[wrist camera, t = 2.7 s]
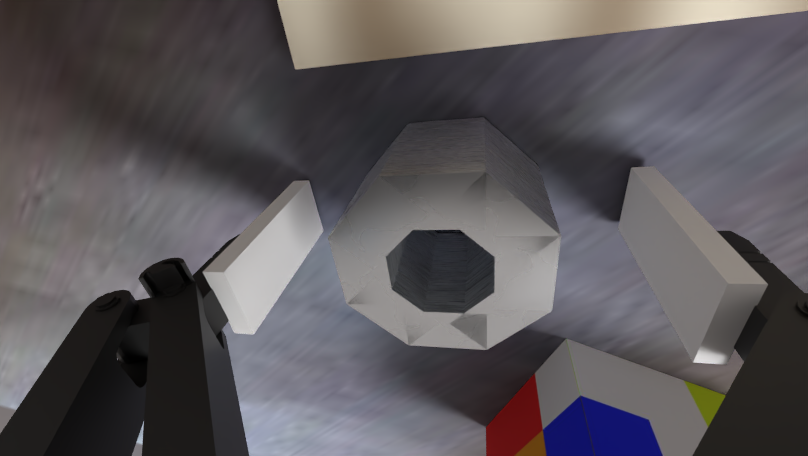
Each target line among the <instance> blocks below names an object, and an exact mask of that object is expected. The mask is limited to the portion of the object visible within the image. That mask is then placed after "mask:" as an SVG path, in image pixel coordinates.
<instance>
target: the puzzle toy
mask: <svg viewBox="0 0 808 456" xmlns="http://www.w3.org/2000/svg"><path fill="white" fill-rule="evenodd" d="M725 396H726V395H723V394H720V393H717V392H715V391H712V390H709V389H706V388H704V387H701V386H698V385H695V384H692V383H690V382H687V381H684V380H681V379H678V378H676V377H673V376H670V375H667V374H664V373H662V372H659V371H656V370H653V369H650V368H648V367H645V366H642V365H639V364H636V363H634V362H631V361H628V360H625V359H622V358H620V357H617V356H614V355H611V354H608V353H606V352H603V351H600V350H597V349H594V348H592V347H589V346H586V345H583V344H580V343H578V342H575V341H572V340H569V339H565V340H564V341H563V343H562V344H561V345H560V346H559V347H558V348H557V349H556V350H555V351H554V352H553V354H552V355H551V356H550V357H549V358H548V359H547V360H546V361H545V362H544V364H543V365H542V366H541V367H540V368H539V369H538V370H537V371H536V372H535V374H534V375H533V376H532V377H531V378H530V379H529V380H528V381H527V382H526V383H525V385H524V386H523V387H522V388H521V389H520V390H519V391H518V392H517V393H516V395H515V396H514V397H513V398H512V399H511V400H510V401H509V402H508V403H507V405H506V406H505V407H504V408H503V409H502V410H501V411H500V412H499V413H498V414H497V416H496V417H495V418H494V419H493V420H492V421H491V422H490V423H489V424H488V426H487V427H486V456H692V455H693V453H694V452H695V450H696V448H697V446H698V444H699V443H700V441H701V439H702V437H703V435H704V434H705V432H706V430H707V428H708V427H709V425H710V423H711V421H712V419H713V418H714V416H715V414H716V412H717V410H718V409H719V407H720V405H721V403H722V401H723V400H724V398H725Z"/></svg>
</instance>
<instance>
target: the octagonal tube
mask: <svg viewBox="0 0 808 456" xmlns="http://www.w3.org/2000/svg"><path fill="white" fill-rule="evenodd" d="M434 230H461V231H462V232H463V233H437V232H435V231H434ZM328 240H329V243H330V247H331V250H332V254H333V257H334V261H335V264H336V268H337V272H338V275H339V279H340V282H341V286H342V289H343V293H344V296H345V300H346V303H347V305H349V306H350V307H352V308H353V309H355V310H356V311H358V312H359V313H361V314H362V315H364V316H365V317H367V318H368V319H370V320H371V321H373V322H374V323H376V324H377V325H379V326H380V327H382V328H383V329H385V330H386V331H388V332H389V333H391V334H392V335H394V336H395V337H397V338H398V339H400V340H401V341H403V342H404V343H406V344H407V345H411V346H428V347H445V348H462V349H480V350H488V349H489V348H491V347H493V346H494V345H496V344H498V343H499V342H501V341H503V340H504V339H506V338H508V337H509V336H511V335H513V334H514V333H516V332H518V331H520V330H521V329H523V328H525V327H526V326H528V325H530V324H531V323H533V322H535V321H536V320H538V319H540V318H541V317H543V316H545V315H546V314H548V313H550V312H551V311H552V307H553V299H554V291H555V283H556V274H557V266H558V258H559V249H560V241H561V234H560V231H559V228H558V225H557V222H556V219H555V216H554V213H553V210H552V207H551V204H550V200H549V197H548V194H547V191H546V188H545V185H544V182H543V179H542V176H541V173H540V170H539V167H538V165H537V164H536V163H535V162H534V161H533V160H531V159H530V158H529V157H528V156H527V155H526V154H525V153H524V152H522V151H521V150H520V149H519V148H518V147H517V146H516V145H515V144H514V143H512V142H511V141H510V140H509V139H508V138H507V137H506V136H505V135H503V134H502V133H501V132H500V131H499V130H498V129H497V128H496V127H495V126H493V125H492V124H491V123H490V122H489V121H488V120H487V119H486V118H484V117H479V118H466V119H453V120H439V121H426V122H413V123H408V124H407V125H406V127H405V128H404V129H403V130H402V132H401V133H400V134H399V135H398V137H397V138H396V139H395V140H394V141H393V143H392V144H391V145H390V146H389V148H388V149H387V150H386V151H385V153H384V154H383V155H382V156H381V158H380V159H379V160H378V161H377V163H376V164H375V165H374V166H373V168H372V169H371V170H370V171H369V173H368V174H367V175H366V177H365V179H364V180H363V182H362V184H361V185H360V187H359V188H358V190H357V192H356V193H355V195H354V196H353V198H352V200H351V201H350V203H349V204H348V206H347V208H346V209H345V211H344V213H343V214H342V216H341V217H340V219H339V221H338V222H337V224H336V225H335V227H334V229H333V230H332V232H331V233H330V235H329V237H328Z"/></svg>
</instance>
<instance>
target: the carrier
mask: <svg viewBox="0 0 808 456" xmlns="http://www.w3.org/2000/svg"><path fill="white" fill-rule="evenodd" d="M277 2H278V6H279V10H280V13H281V17H282V21H283V25H284V29H285V32H286V36H287V40H288V44H289V48H290V52H291V55H292V59H293V63H294V67H295V70H297V69H305V68H314V67H323V66H331V65H340V64H349V63H357V62H366V61H375V60H383V59H392V58H401V57H409V56H418V55H427V54H435V53H444V52H453V51H461V50H470V49H479V48H487V47H496V46H505V45H513V44H522V43H531V42H539V41H548V40H557V39H565V38H574V37H583V36H591V35H600V34H609V33H617V32H626V31H635V30H643V29H652V28H661V27H669V26H678V25H687V24H695V23H704V22H713V21H721V20H730V19H739V18H747V17H756V16H765V15H773V14H782V13H791V12H799V11H808V0H277Z"/></svg>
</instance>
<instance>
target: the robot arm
mask: <svg viewBox="0 0 808 456" xmlns="http://www.w3.org/2000/svg"><path fill="white" fill-rule="evenodd" d="M618 230H619V232H620V233H621V235H622V237H623V239H624V240H625V242H626V244H627V246H628V248H629V249H630V251H631V253H632V255H633V257H634V258H635V260H636V262H637V264H638V265H639V267H640V269H641V271H642V273H643V274H644V276H645V278H646V280H647V281H648V283H649V285H650V287H651V289H652V290H653V292H654V294H655V296H656V297H657V299H658V301H659V303H660V305H661V306H662V308H663V310H664V312H665V313H666V315H667V317H668V319H669V321H670V322H671V324H672V326H673V328H674V329H675V331H676V333H677V335H678V337H679V338H680V340H681V342H682V344H683V345H684V347H685V349H686V351H687V353H688V354H689V356H690V358H691V360H692V361H693V362H694V363H710V364H726V365H727V363H728V361H729V359H730V357H731V355H732V353H733V351H734V349H736V351H737V352H738V354H739V355H740V357H741V358H742V359H743V361H744V364H743V365H742V367H741V369H740V371H739V373H738V374H737V376H736V378H735V380H734V382H733V383H732V385H731V387H730V389H729V391H728V392H727V394H726V396H725V398H724V400H723V401H722V403H721V405H720V407H719V409H718V410H717V412H716V414H715V416H714V418H713V419H712V421H711V423H710V425H709V427H708V428H707V430H706V432H705V434H704V435H703V437H702V439H701V441H700V443H699V444H698V446H697V448H696V450H695V452H694V453H693V455H692V456H808V293H804V292H803V291H802V290H800V289H799V288H798V287H797V286H796V285H795V284H794V283H793V282H792V281H791V280H790V279H789V278H788V277H787V276H786V275H785V274H783V273H782V272H781V271H780V270H779V269H778V268H777V267H776V266H775V265H774V264H773V263H770V260H769V259H768V258H767V257H765V256H764V255H763V254H760V251H759V250H758V249H757V248H756V247H755V246H754V245H753V244H752V243H751V242H750V241H749V240H747V239H745V238H743V237H741V236H739V235H737V234H735V233H733V232H731V231H716V230H715V229H714V228H713V227H712V226H711V225H710V224H709V223H708V222H707V221H706V220H705V219H704V218H703V217H702V216H701V214H700V213H699V212H698V211H697V210H696V209H695V208H694V207H693V206H692V205H691V204H690V203H689V202H688V201H687V200H686V199H685V198H684V197H683V196H682V195H681V194H680V193H679V192H678V191H677V190H676V189H675V188H674V187H673V186H672V185H671V184H670V182H669V181H668V180H667V179H666V178H665V177H664V176H663V175H662V174H661V173H660V172H659V171H658V170H657V169H656V168H655V167H631V171H630V175H629V180H628V185H627V189H626V194H625V199H624V203H623V208H622V213H621V217H620V222H619V227H618ZM322 232H323V227H322V224H321V220H320V217H319V213H318V210H317V206H316V203H315V199H314V196H313V192H312V189H311V185H310V182H309V180H306V181H293V182H292V183H291V184H290V185H289V186H288V187H287V188H286V189H285V190H284V191H283V192H282V193H281V194H280V195H279V196H278V197H277V198H276V199H275V200H274V201H273V202H272V203H271V204H270V205H269V206H268V207H267V208H266V209H265V210H264V211H263V212H262V213H261V214H260V215H259V216H258V217H257V218H256V219H255V220H254V221H253V222H252V223H251V224H250V225H249V226H248V227H247V228H246V229H245V230H244V231H243V232H242V233H241V234H239V235H238V236H236V237H234V238H233V239H231V240H229V241H228V242H227V243H226V244H225V245H224V246H223V247H222V248H220V249H219V251H217V252H216V253H215V254H214V255H213V258H210V259H209V260H208V261H207V262H206V263H205V264H204V265H203V266H202V267H201V268H200V269H199V270H198V271H197V272H196V273H195V274H194V275H193V276H192V274H191V272H190V271H189V269H188V267H187V265H186V263H185V262H184V260H183V259H181V258H170V259H166V260H162V261H160V262H158V263H155V264H153V265H152V266H150V267H149V268H147V269H146V270H145V271H144V272H142V273H141V275H140V277H139V280H140V282H141V284H142V285H143V287H144V288H145V290H146V291H147V293H148V294H149V296H150V297H151V298H147V299H142V300H135V299H134V297H133V296H132V295H131V293H130V292H129V291H127V290H119V291H114V292H111V293H107V294H105V295H103V296H101V297H99V298H97V299H96V300H95V301H94V302H92V303H91V304H90V305H89V306H88V307H87V308H86V309H85V310H84V312H83V313H82V315H81V316H80V318H79V319H78V321H77V322H76V323H75V325H74V326H73V328H72V329H71V331H70V332H69V334H68V335H67V337H66V338H65V340H64V341H63V343H62V344H61V345H60V347H59V348H58V350H57V351H56V353H55V354H54V356H53V357H52V359H51V360H50V362H49V363H48V365H47V366H46V367H45V369H44V370H43V372H42V373H41V375H40V376H39V378H38V379H37V381H36V382H35V384H34V385H33V387H32V388H31V390H30V391H29V392H28V394H27V395H26V397H25V398H24V400H23V401H22V403H21V404H20V406H19V407H18V409H17V410H16V412H15V413H14V415H13V416H12V417H11V419H10V420H9V422H8V423H7V425H6V426H5V428H4V429H3V431H2V432H1V434H0V456H132V453H133V450H134V447H135V444H136V442H137V439H138V436H139V433H140V430H141V427H142V424H143V421H144V431H143V447H142V456H249V452H248V447H247V442H246V437H245V432H244V427H243V422H242V417H241V412H240V407H239V401H238V396H237V391H236V386H235V381H234V376H233V371H232V366H231V361H230V356H229V350H228V345H227V340H226V336H225V334H224V332H223V331H222V328H223V327H224V326H225V325H226V323H227V322H228V321H229V323H230V325H231V327H232V329H233V331H234V333H240V334H255V332H256V331H257V329H258V328H259V326H260V325H261V323H262V322H263V320H264V319H265V317H266V316H267V314H268V313H269V311H270V310H271V308H272V307H273V305H274V304H275V302H276V301H277V299H278V298H279V296H280V295H281V293H282V292H283V290H284V289H285V287H286V286H287V284H288V283H289V281H290V280H291V279H292V277H293V276H294V274H295V273H296V271H297V270H298V268H299V267H300V265H301V264H302V262H303V261H304V259H305V258H306V256H307V255H308V253H309V252H310V250H311V249H312V247H313V246H314V244H315V243H316V241H317V240H318V238H319V237H320V235H321V234H322ZM117 358H118V361H117Z"/></svg>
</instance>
